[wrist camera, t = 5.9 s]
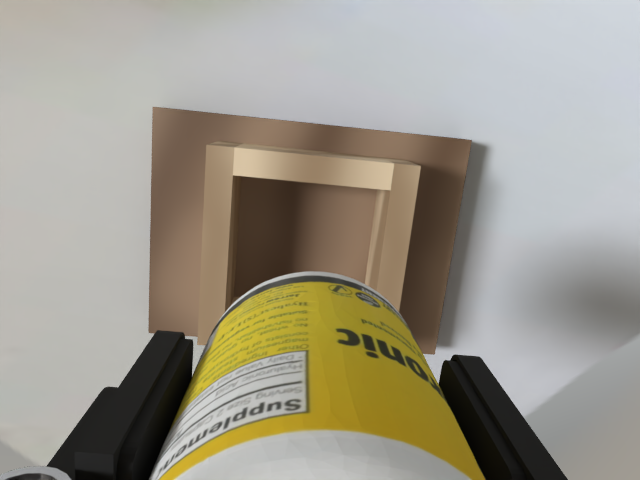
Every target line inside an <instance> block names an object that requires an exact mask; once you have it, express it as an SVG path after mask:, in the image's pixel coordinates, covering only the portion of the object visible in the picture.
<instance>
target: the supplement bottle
mask: <svg viewBox="0 0 640 480" xmlns="http://www.w3.org/2000/svg"><path fill="white" fill-rule="evenodd" d="M149 480H486V478H485V477H484V475H483V473H482V471H481V469H480V467H479V465H478V463H477V462H476V459H475V457H474V455H473V453H472V451H471V449H470V447H469V445H468V443H467V441H466V439H465V437H464V435H463V433H462V431H461V429H460V427H459V425H458V423H457V421H456V419H455V416H454V415H453V413H452V411H451V409H450V407H449V405H448V403H447V401H446V399H445V397H444V395H443V393H442V391H441V389H440V387H439V385H438V383H437V381H436V379H435V377H434V375H433V373H432V372H431V370H430V368H429V366H428V364H427V362H426V360H425V357H424V355H423V353H422V351H421V349H420V347H419V345H418V343H417V342H416V340H415V338H414V336H413V334H412V332H411V330H410V329H409V327H408V325H407V324H406V322H405V321H404V319H403V318H402V316H401V315H400V313H399V312H398V311H397V310H396V309H395V307H394V306H393V305H392V304H391V303H390V302H389V301H388V300H387V299H386V298H384V297H383V296H382V295H381V294H380V293H378V292H377V291H375V290H374V289H372V288H371V287H369V286H367V285H365V284H363V283H361V282H359V281H357V280H355V279H352V278H349V277H346V276H343V275H339V274H335V273H329V272H313V271H306V272H298V273H291V274H287V275H283V276H279V277H276V278H273V279H271V280H268V281H265V282H263V283H261V284H259V285H258V286H256V287H254V288H253V289H251V290H250V291H248V292H247V293H245V294H244V295H242V296H241V297H240V298H239V299H237V300H236V301H235V302H234V303H233V304H232V305H231V306H230V307H229V308H228V309H227V311H226V312H225V313H224V314H223V315H222V317H221V318H220V320H219V321H218V323H217V324H216V326H215V328H214V329H213V331H212V333H211V335H210V337H209V339H208V341H207V344H206V346H205V348H204V350H203V353H202V355H201V357H200V360H199V362H198V364H197V367H196V369H195V371H194V374H193V376H192V379H191V381H190V384H189V386H188V388H187V391H186V393H185V395H184V397H183V399H182V402H181V404H180V407H179V409H178V412H177V414H176V417H175V419H174V421H173V423H172V426H171V428H170V430H169V433H168V435H167V437H166V439H165V442H164V444H163V446H162V449H161V451H160V454H159V456H158V458H157V461H156V463H155V465H154V468H153V470H152V472H151V475H150V477H149Z"/></svg>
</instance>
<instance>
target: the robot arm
mask: <svg viewBox="0 0 640 480" xmlns="http://www.w3.org/2000/svg"><path fill="white" fill-rule="evenodd" d="M192 361H193V340H191V339H185V334H184V332H174V331H161V330H157V331H156V333H155V334H154V336H153V337H152V339H151V340H150V342H149V343H148V344H147V346H146V347H145V349H144V350H143V352H142V353H141V355H140V356H139V358H138V359H137V361H136V362H135V364H134V365H133V367H132V368H131V370H130V371H129V372H128V374H127V375H126V377H125V378H124V380H123V381H122V383H121V384H120V386H119V387H118V388H117V387H106V388H104V389H103V390H102V391H101V392H100V394H99V395H98V397H97V398H96V399H95V401H94V402H93V403H92V405H91V406H90V408H89V409H88V410H87V412H86V413H85V414H84V416H83V417H82V418H81V420H80V421H79V423H78V424H77V425H76V427H75V428H74V429H73V431H72V432H71V434H70V435H69V436H68V438H67V439H66V440H65V442H64V443H63V444H62V446H61V447H60V449H59V450H58V451H57V453H56V454H55V455H54V457H53V458H52V460H51V461H50V462H49V464H48V465H47V466H33V467H24V468H20V469H16V470H11V471H8V472H6V473H4V474H1V475H0V480H149V477H150V475H151V472H152V470H153V468H154V465H155V463H156V461H157V458H158V456H159V454H160V451H161V449H162V446H163V444H164V442H165V439H166V437H167V435H168V433H169V430H170V428H171V426H172V423H173V421H174V419H175V417H176V414H177V412H178V409H179V407H180V404H181V402H182V399H183V397H184V395H185V393H186V391H187V388H188V386H189V384H190V381H191V379H192ZM439 387H440V389H441V391H442V393H443V395H444V397H445V399H446V401H447V403H448V405H449V407H450V409H451V411H452V413H453V415H454V416H455V419H456V421H457V423H458V425H459V427H460V429H461V431H462V433H463V435H464V437H465V439H466V441H467V443H468V445H469V447H470V449H471V451H472V453H473V455H474V457H475V459H476V462H477V463H478V465H479V467H480V469H481V471H482V473H483V475H484V477H485V478H486V480H568V479H567V478H566V476H565V475H564V474H563V472H562V471H561V469H560V468H559V467H558V465H557V464H556V463H555V461H554V460H553V458H552V457H551V455H550V454H549V453H548V451H547V450H546V449H545V447H544V446H543V444H542V443H541V442H540V440H539V439H538V437H537V436H536V435H535V433H534V432H533V430H532V429H531V427H530V426H529V425H528V423H527V422H526V420H525V419H524V418H523V416H522V415H521V413H520V412H519V411H518V409H517V408H516V406H515V405H514V404H513V402H512V401H511V399H510V398H509V397H508V395H507V394H506V392H505V391H504V390H503V388H502V387H501V385H500V384H499V383H498V381H497V380H496V378H495V377H494V376H493V374H492V373H491V371H490V370H489V369H488V367H487V366H486V364H485V363H484V362H483V360H482V359H481V358H480V357H477V356H465V355H453V356H452V358H451V360H450V361H448V360H445V361H444V362H443V365H442V369H441V375H440V380H439Z"/></svg>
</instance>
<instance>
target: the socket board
mask: <svg viewBox="0 0 640 480" xmlns="http://www.w3.org/2000/svg"><path fill="white" fill-rule="evenodd" d="M471 142H472V140H466V139H457V138H447V137H438V136H428V135H419V134H409V133H400V132H390V131H380V130H371V129H361V128H352V127H342V126H333V125H323V124H313V123H304V122H294V121H285V120H275V119H266V118H256V117H246V116H237V115H227V114H218V113H208V112H199V111H189V110H180V109H170V108H160V107H153V122H152V176H151V229H150V283H149V333H156V331H157V330H161V331H174V332H184V334H185V336H196V337H198V342H197V345H206V344H207V341H208V339H209V337H210V335H211V333H212V331H213V329H214V328H215V326H216V324H217V323H218V321H219V320H220V318H221V317H222V315H223V314H224V313H225V312H226V311H227V309H228V308H229V307H230V306H231V305H232V304H233V303H234V302H235V301H236V300H237V299H239V298H240V297H241V296H242V295H244V294H245V293H247V292H248V291H250V290H251V289H253V288H254V287H256V286H258V285H259V284H261V283H263V282H265V281H268V280H271V279H273V278H276V277H279V276H283V275H287V274H291V273H298V272H306V271H313V272H329V273H335V274H339V275H343V276H346V277H349V278H352V279H355V280H357V281H359V282H361V283H363V284H365V285H367V286H369V287H371V288H372V289H374V290H375V291H377V292H378V293H380V294H381V295H382V296H383V297H384V298H386V299H387V300H388V301H389V302H390V303H391V304H392V305H393V306H394V307H395V309H396V310H397V311H398V312H399V313H400V315H401V316H402V318H403V319H404V321H405V322H406V324H407V325H408V327H409V329H410V330H411V332H412V334H413V336H414V338H415V340H416V342H417V343H418V345H419V347H420V349H421V351H422V353H423V354H435V349H436V344H437V338H438V332H439V326H440V321H441V315H442V309H443V303H444V297H445V292H446V286H447V280H448V274H449V269H450V263H451V257H452V251H453V246H454V240H455V234H456V228H457V223H458V217H459V211H460V205H461V200H462V194H463V188H464V182H465V177H466V171H467V165H468V159H469V154H470V148H471Z"/></svg>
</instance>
